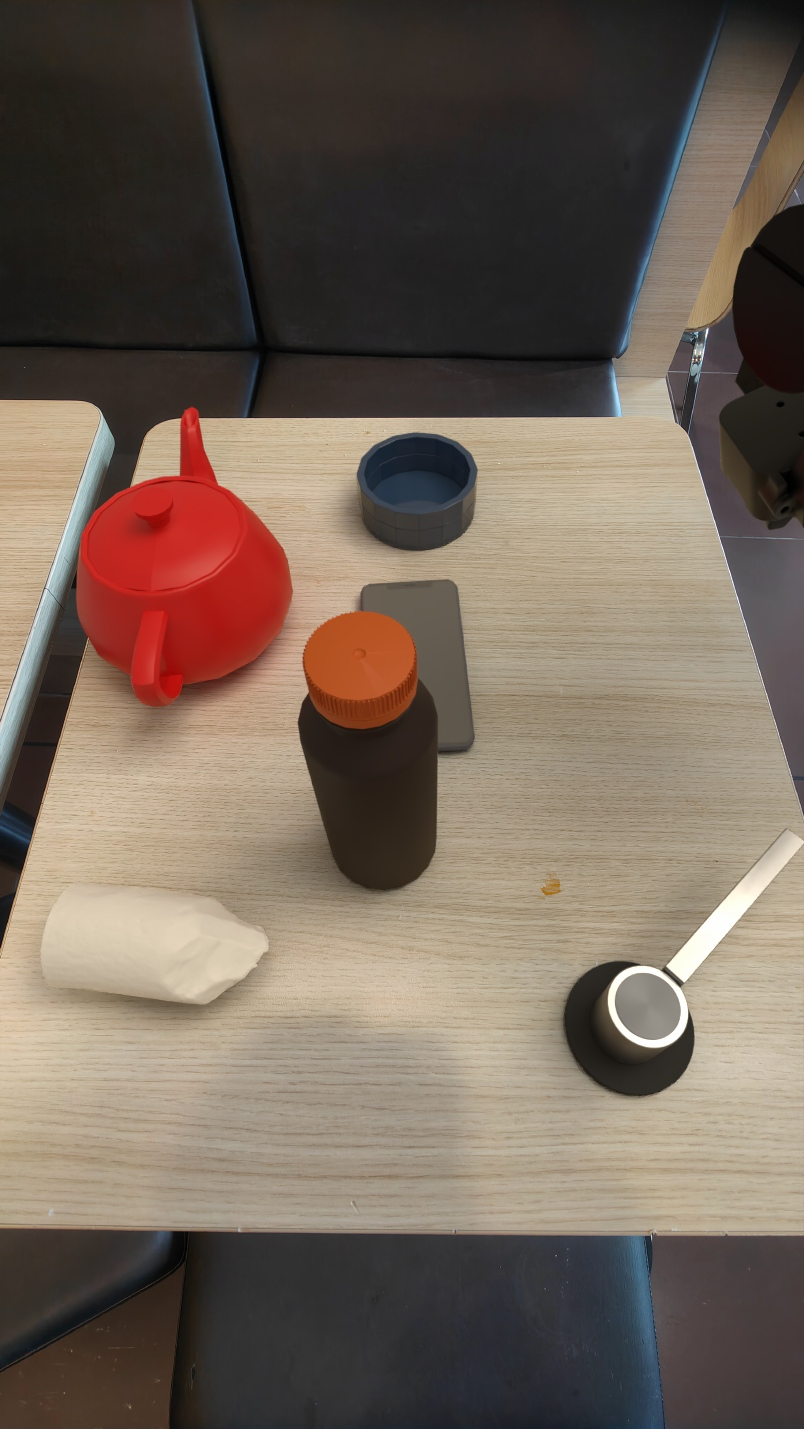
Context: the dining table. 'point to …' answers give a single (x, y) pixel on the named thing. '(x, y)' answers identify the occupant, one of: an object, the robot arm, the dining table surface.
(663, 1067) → the coaster
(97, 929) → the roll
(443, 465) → the bowl
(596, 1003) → the scoop
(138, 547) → the teapot
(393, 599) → the smartphone
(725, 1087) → the dining table surface
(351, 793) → the bottle
